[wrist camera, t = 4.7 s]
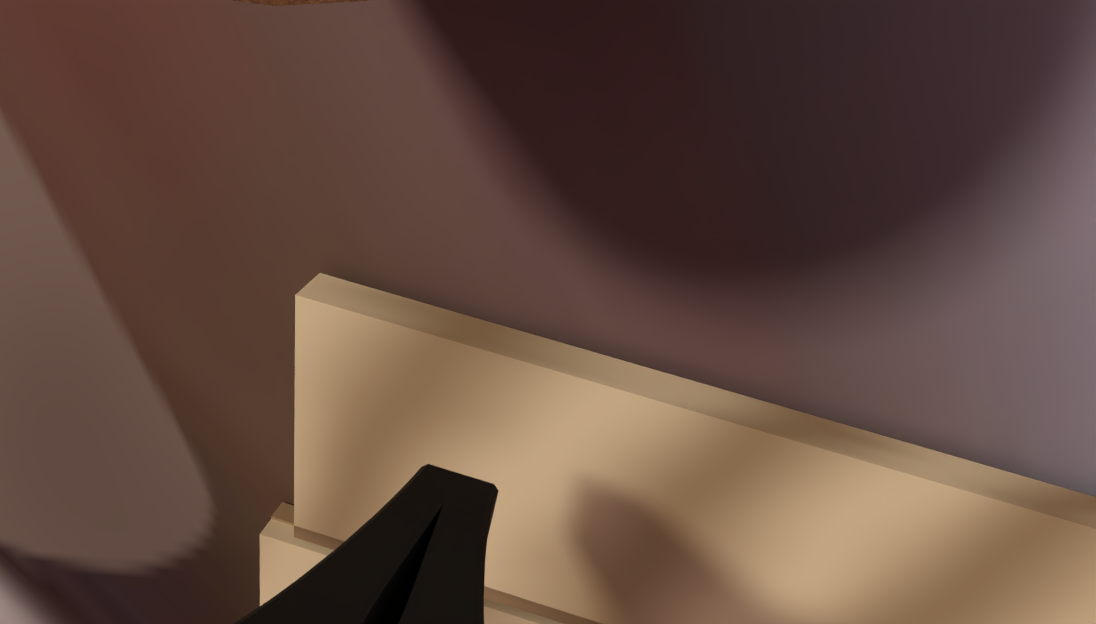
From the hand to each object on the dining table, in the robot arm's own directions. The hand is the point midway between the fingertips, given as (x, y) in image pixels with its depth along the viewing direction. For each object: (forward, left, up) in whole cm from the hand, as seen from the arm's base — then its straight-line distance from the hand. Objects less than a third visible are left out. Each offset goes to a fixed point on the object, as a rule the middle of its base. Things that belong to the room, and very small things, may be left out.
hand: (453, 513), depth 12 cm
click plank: (-5, +3, -5) cm, 7 cm away
